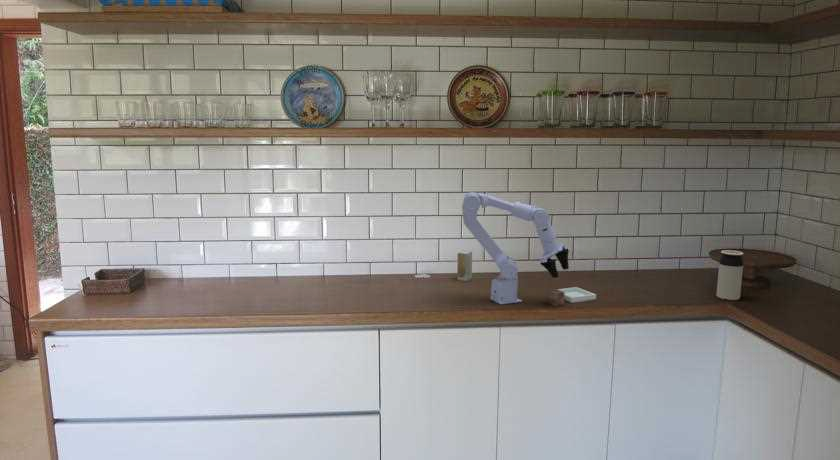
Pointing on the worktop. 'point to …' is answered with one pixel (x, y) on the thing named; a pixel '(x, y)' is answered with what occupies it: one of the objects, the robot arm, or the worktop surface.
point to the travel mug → (730, 275)
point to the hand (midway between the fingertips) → (560, 273)
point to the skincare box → (464, 265)
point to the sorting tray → (577, 295)
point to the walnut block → (556, 297)
